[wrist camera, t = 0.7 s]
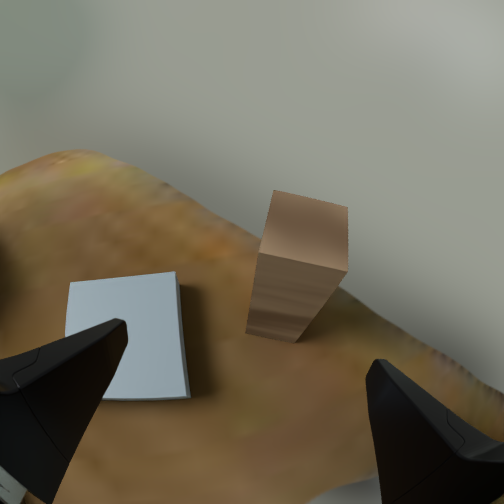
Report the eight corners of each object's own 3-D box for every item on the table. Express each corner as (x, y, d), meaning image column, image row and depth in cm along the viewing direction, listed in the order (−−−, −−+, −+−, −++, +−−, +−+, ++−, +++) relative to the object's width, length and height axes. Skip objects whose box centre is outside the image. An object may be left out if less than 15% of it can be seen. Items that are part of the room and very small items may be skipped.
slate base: (191, 398, 20) (186, 396, 18) (78, 398, 19) (64, 395, 16) (179, 284, 26) (175, 271, 24) (81, 293, 24) (70, 282, 22)
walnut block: (294, 343, 24) (347, 271, 13) (245, 333, 24) (258, 252, 13) (301, 299, 26) (347, 207, 16) (255, 289, 27) (273, 189, 16)
